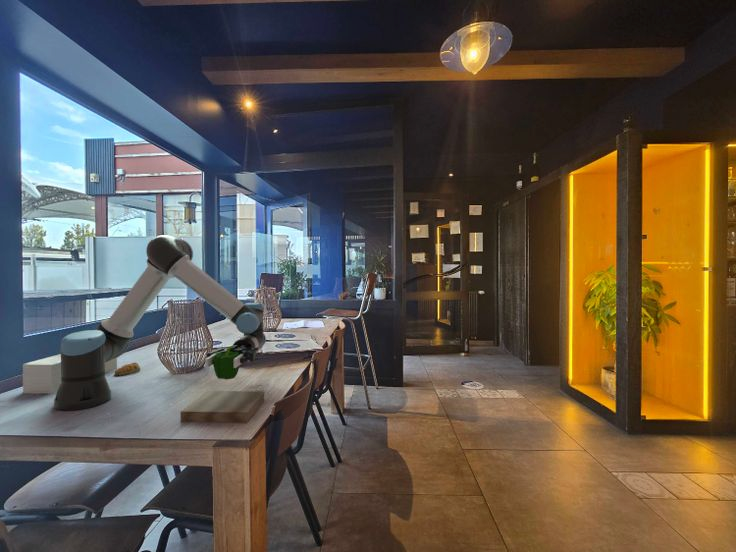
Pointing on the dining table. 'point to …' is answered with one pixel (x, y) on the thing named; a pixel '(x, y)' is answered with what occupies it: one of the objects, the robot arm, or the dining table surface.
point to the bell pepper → (225, 364)
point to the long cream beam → (49, 374)
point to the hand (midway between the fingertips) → (220, 363)
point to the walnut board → (223, 406)
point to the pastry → (128, 369)
